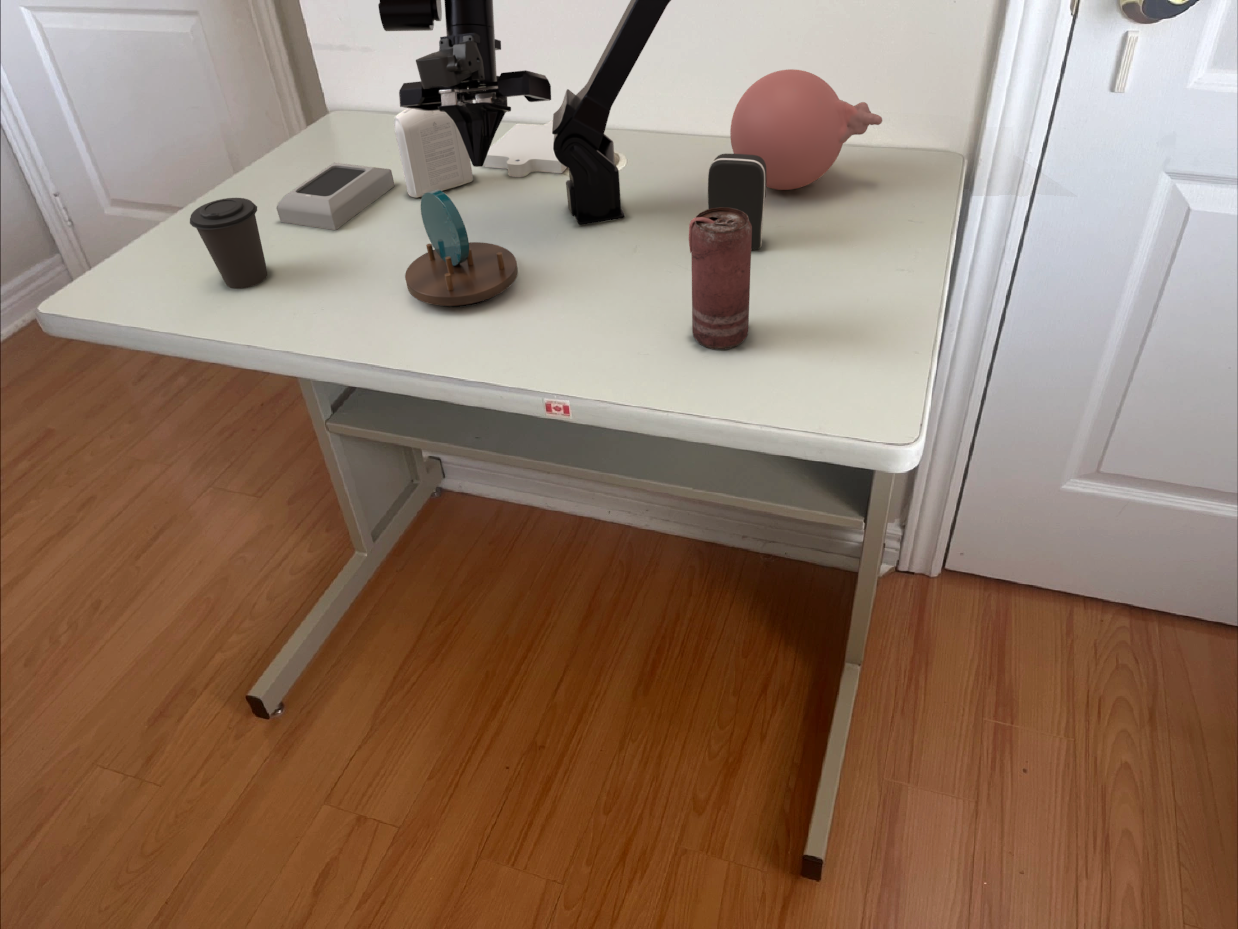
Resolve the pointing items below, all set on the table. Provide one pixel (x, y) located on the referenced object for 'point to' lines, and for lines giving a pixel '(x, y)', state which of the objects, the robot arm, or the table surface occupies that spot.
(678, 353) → the table surface
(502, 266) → the dish rack
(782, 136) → the round balloon
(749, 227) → the worn red soda can
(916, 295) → the table surface
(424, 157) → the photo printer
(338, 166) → the grey flat block
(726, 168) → the black rounded block
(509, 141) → the mounting plate
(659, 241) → the table surface
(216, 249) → the coffee cup
